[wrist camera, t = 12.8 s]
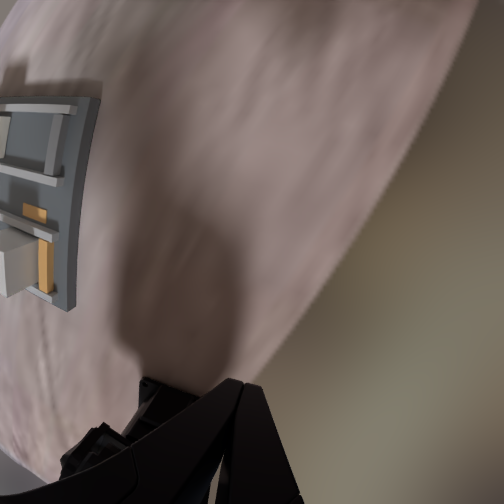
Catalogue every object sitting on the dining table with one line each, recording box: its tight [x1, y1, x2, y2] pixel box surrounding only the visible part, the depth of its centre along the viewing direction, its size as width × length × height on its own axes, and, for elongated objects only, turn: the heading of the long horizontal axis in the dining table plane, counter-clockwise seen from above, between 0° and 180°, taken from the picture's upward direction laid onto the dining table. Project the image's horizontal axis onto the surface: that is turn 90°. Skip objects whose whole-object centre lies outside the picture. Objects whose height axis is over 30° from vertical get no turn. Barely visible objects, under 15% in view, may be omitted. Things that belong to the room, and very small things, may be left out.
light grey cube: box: [0, 227, 39, 298], centre depth 19 cm, size 4×4×4 cm
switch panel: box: [0, 96, 101, 312], centre depth 20 cm, size 16×16×2 cm
